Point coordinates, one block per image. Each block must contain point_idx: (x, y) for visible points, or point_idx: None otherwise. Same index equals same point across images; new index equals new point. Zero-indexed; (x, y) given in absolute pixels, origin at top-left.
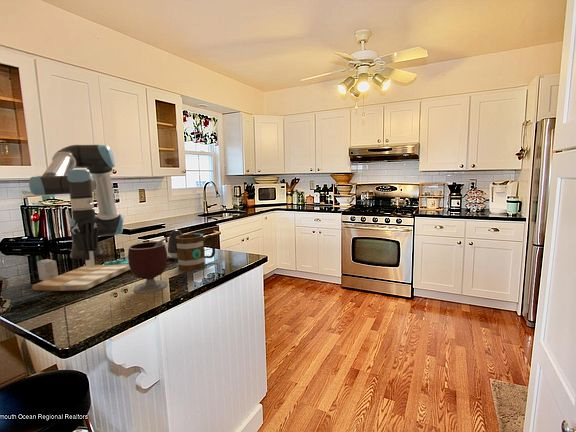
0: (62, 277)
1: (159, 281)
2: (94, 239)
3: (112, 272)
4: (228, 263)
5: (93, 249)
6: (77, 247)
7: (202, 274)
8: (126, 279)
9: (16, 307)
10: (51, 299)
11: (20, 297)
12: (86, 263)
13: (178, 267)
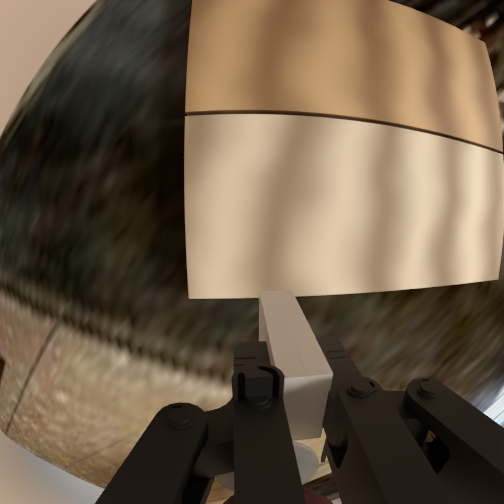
0: (324, 23)
1: (307, 472)
2: (452, 498)
3: (400, 286)
4: None
5: (322, 455)
6: (130, 459)
7: None
8: (362, 352)
9: (23, 133)
10: (88, 196)
11: (109, 29)
12: (262, 314)
13: (432, 438)
